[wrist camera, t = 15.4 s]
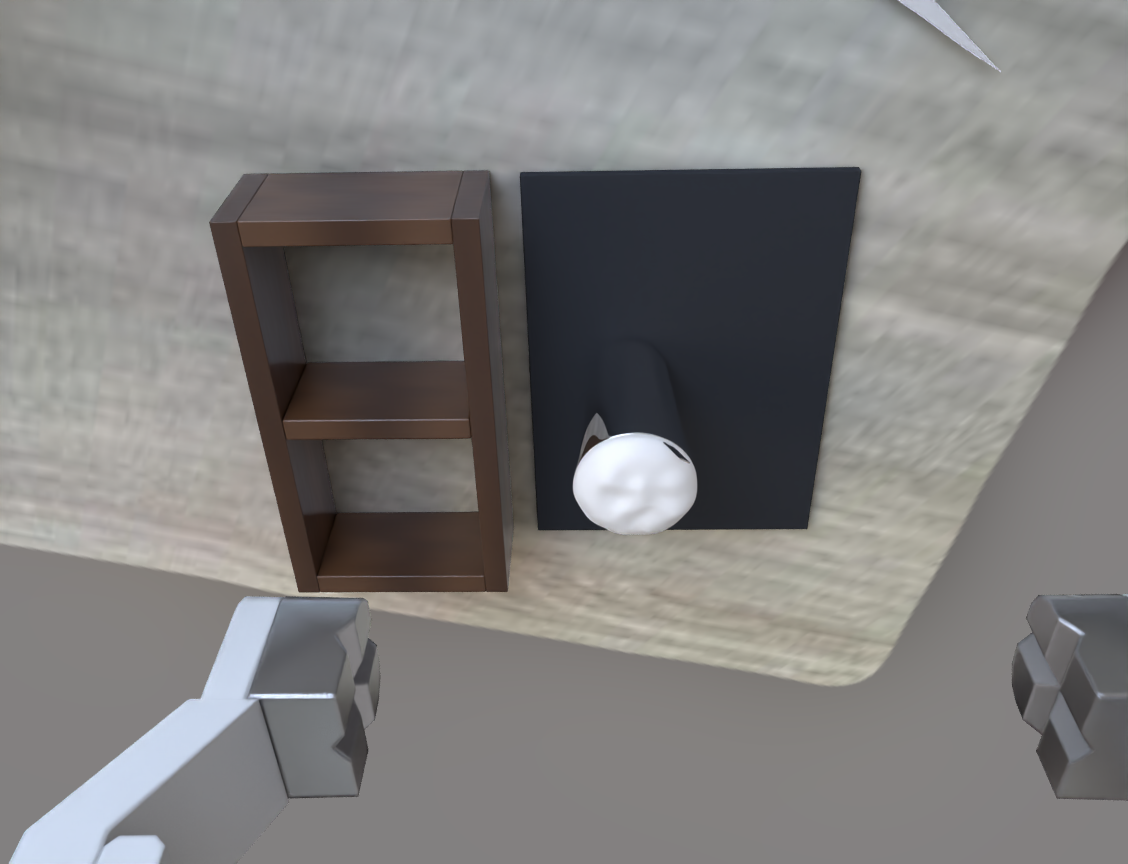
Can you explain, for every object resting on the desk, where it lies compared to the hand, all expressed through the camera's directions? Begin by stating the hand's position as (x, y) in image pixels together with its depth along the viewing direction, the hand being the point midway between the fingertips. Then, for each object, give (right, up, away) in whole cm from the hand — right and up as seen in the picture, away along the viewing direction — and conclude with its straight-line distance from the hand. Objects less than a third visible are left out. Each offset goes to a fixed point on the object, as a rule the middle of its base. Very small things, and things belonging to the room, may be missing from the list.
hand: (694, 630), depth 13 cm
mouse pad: (+3, +5, +32) cm, 33 cm away
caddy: (-9, +5, +32) cm, 34 cm away
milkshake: (+1, +6, +32) cm, 32 cm away
